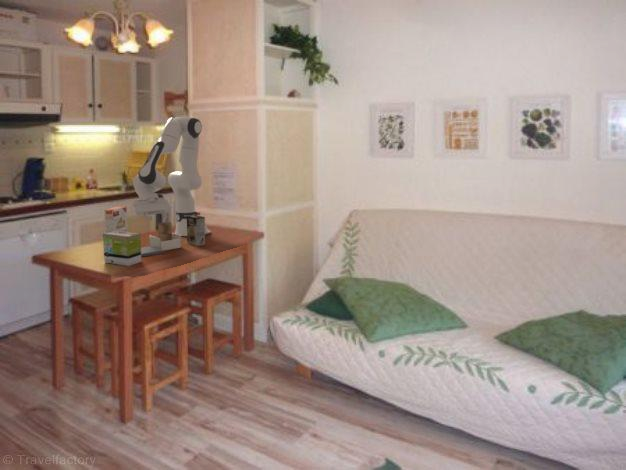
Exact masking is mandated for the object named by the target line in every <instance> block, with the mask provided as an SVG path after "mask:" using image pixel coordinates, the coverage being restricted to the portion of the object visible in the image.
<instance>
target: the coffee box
mask: <svg viewBox="0 0 626 470" xmlns="http://www.w3.org/2000/svg"><path fill="white" fill-rule="evenodd" d="M205 223H206V220H205V216H201V215H191V216H187V236H186V237H187V238H186V241H187V244H189V245H192V246H195V247H199V246H204V245H206V234H205Z"/></svg>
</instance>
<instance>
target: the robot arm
mask: <svg viewBox="0 0 626 470" xmlns="http://www.w3.org/2000/svg"><path fill="white" fill-rule="evenodd" d="M202 130H203V124H202V121H200V119H198V118H195V117H189V116H172V117H169V118H168V119H167V121H166V124H165V125H164V127H163V129H162V131H161V133H160V136H159V139H158V140H157V141H156V142H154V144H153V146H152V148H151V149H150V152H149V153H148V156H147V158H146V160H145V161H144V164H143V165H142V166H141V168H140V169H139V171H138V174H137V175H136V176H135V177H134V178H133V179H132V184H133V188H134V190H135V193H136V194H137V195H138V200H134V201H132V205H133V207H134V209H135V213H136V215H138V216H143V217H144V218H146V219H147V220H148V221H152V219H153V218H152V216H150V215H159V214H162V218H163V220H166V219H167V218H168V216H167V214H169V213H170V211H171V210H172V207H171V205H170V203H169V201H168V200H167V199H166V198H165V197H166V196H165V195H164V194H160V193H156V192H158V191H161V190H162V189H164V187H166V184H167V183H168V185H169V186H170V187H171V189H172V191H173V194H174V197H175V203H176V204H175V205H176V207H175V208H176V211H175V220H176V226H175V231H174V233H175V234H178V235H181V237H187V216H191V215H197V216H201V211H196V207H195V206H196V205H195V204H196V202H195V198H194V196H192V194H191V191H194V190H199V189H200V188H201V187H202V185H203V178H202V176H201V175H200V174H199V171H198V156H199V149H200V134H201V132H202ZM180 141H181V142H180ZM179 145H180V147H179ZM178 147H179V154H178V162H179V164H180V166H181V170H176V171H173V172H170V173H169V175H168V177H167V179H166V176H165V175H163V174H162V173H161V172H159V171H158V170H157V165H158V163H159V160H160V158H161V156H162V155H164V154H166V155H169V154H173V153H175V152H176V150H177V149H178ZM207 234H211V230H209V229H208V227H207V223H206V222H205V235H207Z"/></svg>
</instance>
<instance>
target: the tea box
mask: <svg viewBox="0 0 626 470" xmlns="http://www.w3.org/2000/svg"><path fill="white" fill-rule="evenodd" d="M102 241H103V244H102V245H103V259H104V263H105V264H115V265H121V266H126V267H127V266H128V267H129V266H133V265H135V264H138V263H141V262H142V257H141V248H142V247H141V245H142V244H141V241H142V240H141V232H140V233H139V232H131V231H130V232H129V231H127V232H123V231H113V232H110V233H106V232H105V233H103V234H102Z"/></svg>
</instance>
